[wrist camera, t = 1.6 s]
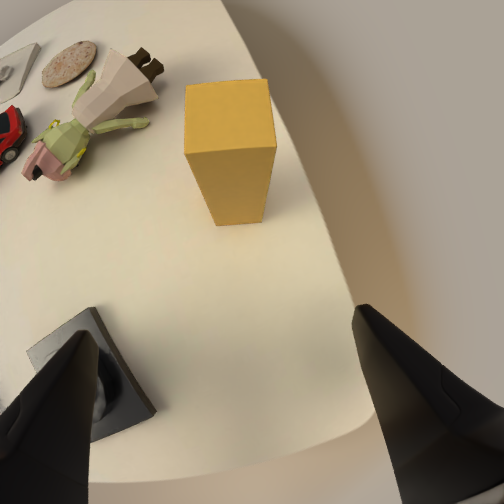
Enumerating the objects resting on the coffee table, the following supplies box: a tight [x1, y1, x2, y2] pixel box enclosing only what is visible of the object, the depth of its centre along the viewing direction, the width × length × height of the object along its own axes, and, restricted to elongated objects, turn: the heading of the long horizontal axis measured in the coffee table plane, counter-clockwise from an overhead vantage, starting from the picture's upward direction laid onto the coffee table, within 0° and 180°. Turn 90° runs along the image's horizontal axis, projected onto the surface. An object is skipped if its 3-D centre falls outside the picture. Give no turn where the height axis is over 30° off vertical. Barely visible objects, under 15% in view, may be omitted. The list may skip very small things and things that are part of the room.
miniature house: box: [0, 42, 41, 103], centre depth 24 cm, size 12×11×4 cm
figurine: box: [21, 47, 164, 181], centre depth 21 cm, size 9×7×15 cm
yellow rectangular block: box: [184, 79, 277, 226], centre depth 17 cm, size 4×4×12 cm
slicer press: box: [26, 307, 157, 443], centre depth 20 cm, size 10×9×3 cm
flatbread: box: [42, 41, 96, 88], centre depth 25 cm, size 8×8×1 cm
